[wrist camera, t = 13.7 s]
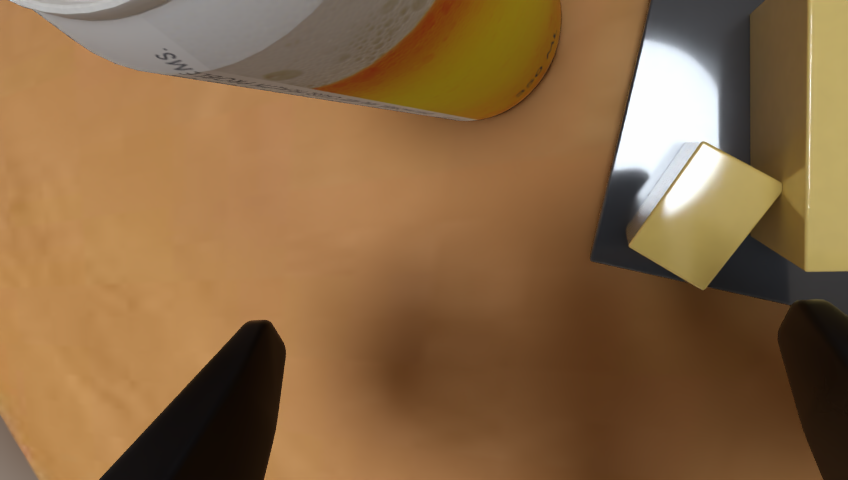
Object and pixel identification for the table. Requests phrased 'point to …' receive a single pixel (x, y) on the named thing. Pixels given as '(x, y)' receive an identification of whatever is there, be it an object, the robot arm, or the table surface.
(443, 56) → the beer can
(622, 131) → the cheese
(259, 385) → the robot arm
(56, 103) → the table surface
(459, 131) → the table surface
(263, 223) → the table surface
